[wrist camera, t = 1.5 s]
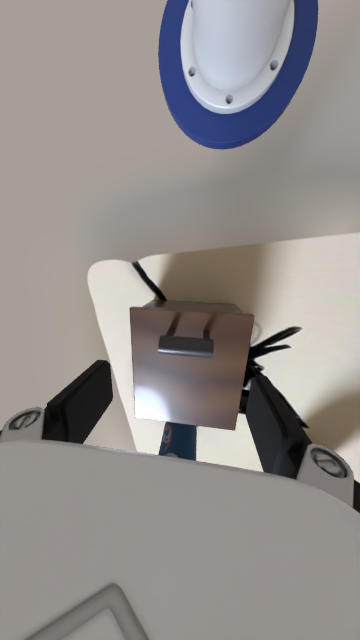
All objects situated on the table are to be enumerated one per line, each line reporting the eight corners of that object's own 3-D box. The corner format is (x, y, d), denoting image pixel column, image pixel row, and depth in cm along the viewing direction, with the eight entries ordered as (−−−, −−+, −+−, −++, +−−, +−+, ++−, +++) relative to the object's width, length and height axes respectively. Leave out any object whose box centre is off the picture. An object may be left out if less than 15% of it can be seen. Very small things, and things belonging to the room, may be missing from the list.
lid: (131, 306, 20) (107, 318, 15) (252, 313, 19) (273, 330, 14) (136, 413, 25) (119, 452, 20) (233, 425, 24) (243, 471, 18)
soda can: (166, 409, 37) (151, 473, 25) (197, 413, 36) (196, 480, 24) (165, 433, 39) (151, 502, 27) (195, 438, 38) (193, 510, 26)
